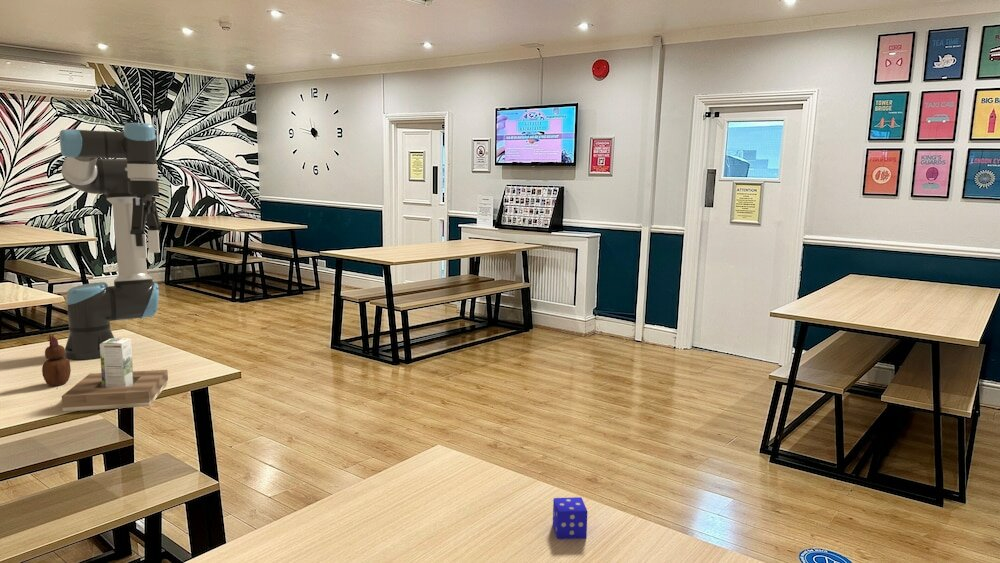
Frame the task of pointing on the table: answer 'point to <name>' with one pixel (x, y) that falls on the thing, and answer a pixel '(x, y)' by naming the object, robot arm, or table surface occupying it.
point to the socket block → (115, 392)
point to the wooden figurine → (55, 364)
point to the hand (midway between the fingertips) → (148, 255)
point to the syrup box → (116, 363)
